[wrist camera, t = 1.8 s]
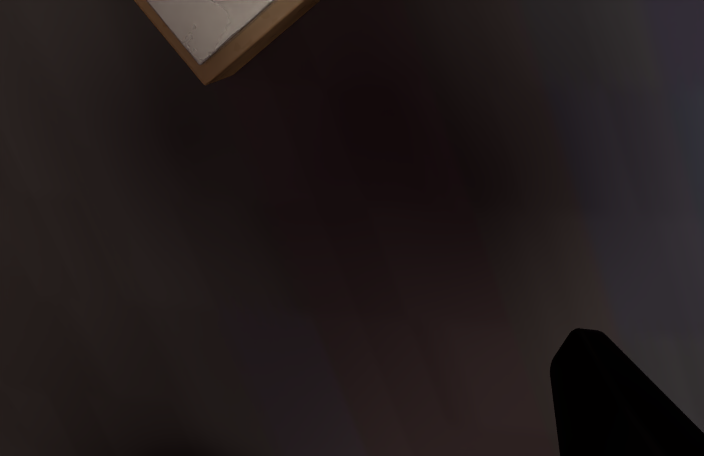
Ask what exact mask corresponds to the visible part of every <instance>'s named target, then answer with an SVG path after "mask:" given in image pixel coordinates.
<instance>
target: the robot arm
mask: <svg viewBox="0 0 704 456" xmlns="http://www.w3.org/2000/svg"><path fill="white" fill-rule="evenodd" d="M550 377H551V386H552V394H553V402H554V410H555V418H556V426H557V434H558V442H559V450H560V456H704V433H703V432H702V431H701V430H700V429H699V428H698V427H697V426H696V425H695V424H694V423H693V422H692V421H691V420H690V419H689V418H688V417H687V416H686V415H685V414H684V413H683V412H682V411H681V410H680V409H679V408H678V407H677V406H676V405H675V404H674V403H673V402H672V401H671V400H670V399H669V398H668V397H667V396H666V395H665V394H664V393H663V392H662V391H661V390H660V389H659V388H658V387H657V386H656V385H655V384H654V383H653V382H652V381H651V380H650V379H649V378H648V377H647V376H646V375H645V374H644V373H643V372H642V371H641V370H640V369H639V368H638V367H637V366H636V365H635V364H634V363H633V362H632V361H631V360H630V359H629V358H628V357H627V356H626V355H625V354H624V353H623V352H622V351H621V350H620V349H619V348H618V347H617V346H616V345H615V344H614V343H613V342H612V341H611V340H610V339H609V338H608V337H607V336H606V335H605V334H604V333H603V332H601V331H598V330H590V329H580V328H578V329H575V330H573V331H571V332H570V334H569V335H568V337H567V338H566V340H565V341H564V343H563V344H562V346H561V347H560V349H559V350H558V352H557V353H556V355H555V356H554V358H553V360H552V363H551V367H550Z"/></svg>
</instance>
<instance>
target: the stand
mask: <svg viewBox="0 0 704 456" xmlns="http://www.w3.org/2000/svg"><path fill="white" fill-rule="evenodd" d="M134 1H135V2H136V3H137V5H138V6H139V7H140V8H141V10H142V11H143V12H144V13H145V14H146V16H147V17H148V18H149V19H150V20H151V22H152V23H153V24H154V25H155V26H156V28H157V29H158V30H159V31H160V32H161V34H162V35H163V36H164V37H165V39H166V40H167V41H168V42H169V43H170V45H171V46H172V47H173V48H174V49H175V51H176V52H177V53H178V54H179V55H180V57H181V58H182V59H183V60H184V62H185V63H186V64H187V65H188V66H189V68H190V69H191V70H192V71H193V72H194V74H195V75H196V76H197V77H198V78H199V80H200V81H201V82H202V83H203V84H204V85H208V84H211V83H214V82H216V81H219V80H222V79H224V78H227V77H229V76H232V75H234V74H235V73H236V72H237V71H238V70H239V69H241V68H242V67H243V66H244V65H245V64H246V63H248V62H249V61H250V60H251V59H252V58H254V57H255V56H256V55H257V54H258V53H259V52H261V51H262V50H263V49H264V48H265V47H266V46H268V45H269V44H270V43H271V42H272V41H273V40H275V39H276V38H277V37H278V36H279V35H280V34H282V33H283V32H284V31H285V30H286V29H287V28H289V27H290V26H291V25H292V24H293V23H294V22H296V21H297V20H298V19H299V18H300V17H301V16H303V15H304V14H305V13H306V12H307V11H308V10H310V9H311V8H312V7H313V6H314V5H315V4H317V3H318V2H319V1H320V0H134Z"/></svg>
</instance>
